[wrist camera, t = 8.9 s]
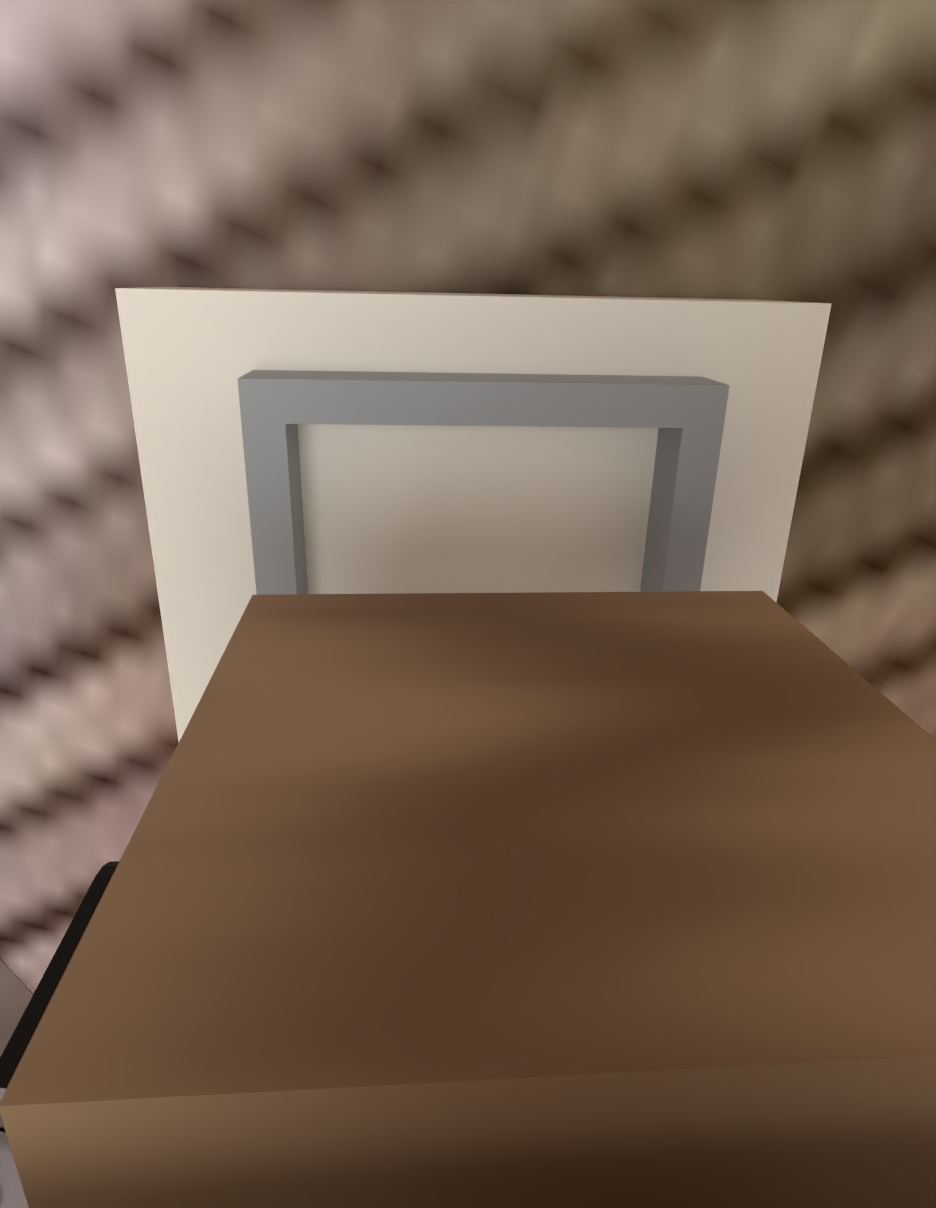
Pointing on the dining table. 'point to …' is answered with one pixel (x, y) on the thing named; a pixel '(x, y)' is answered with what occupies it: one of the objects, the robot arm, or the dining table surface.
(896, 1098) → the walnut block
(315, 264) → the dining table surface
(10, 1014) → the lighter
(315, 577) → the base plate
